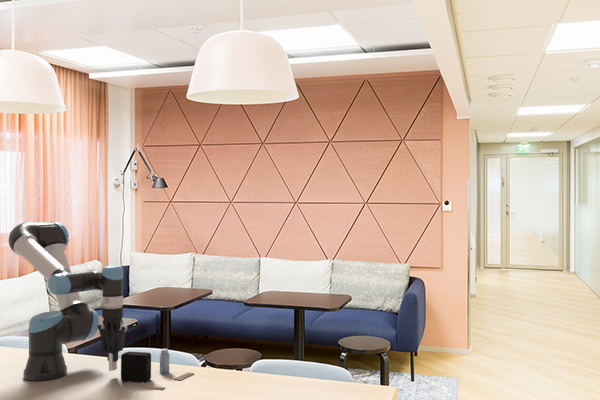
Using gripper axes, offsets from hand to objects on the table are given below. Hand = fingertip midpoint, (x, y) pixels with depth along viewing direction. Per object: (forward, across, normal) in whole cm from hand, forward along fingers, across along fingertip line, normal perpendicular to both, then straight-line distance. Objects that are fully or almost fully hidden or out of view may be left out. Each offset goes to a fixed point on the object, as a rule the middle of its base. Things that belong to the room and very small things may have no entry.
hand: (112, 369), depth 210 cm
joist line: (+3, +25, +4) cm, 25 cm away
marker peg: (+3, +15, +12) cm, 19 cm away
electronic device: (+3, +11, 0) cm, 11 cm away
